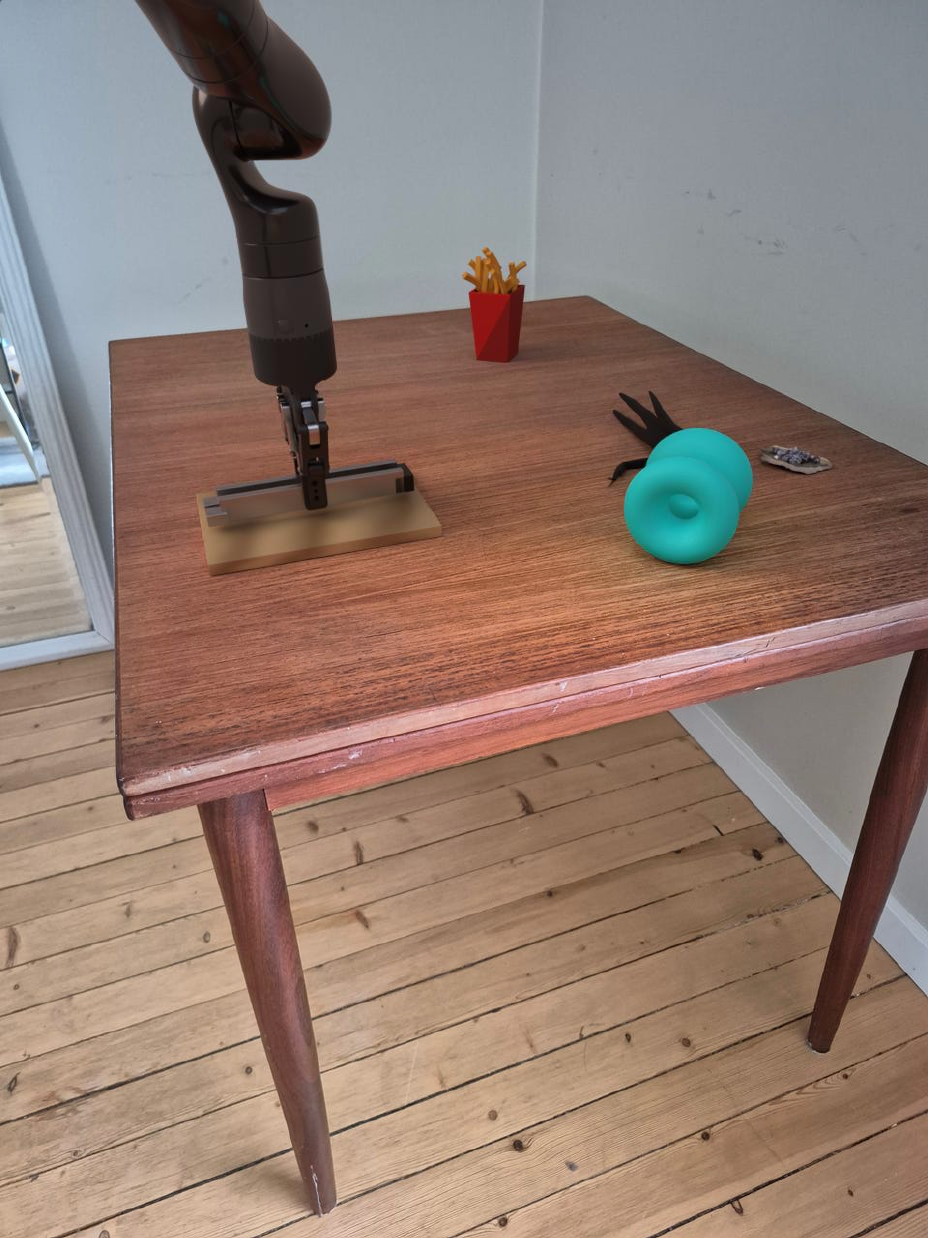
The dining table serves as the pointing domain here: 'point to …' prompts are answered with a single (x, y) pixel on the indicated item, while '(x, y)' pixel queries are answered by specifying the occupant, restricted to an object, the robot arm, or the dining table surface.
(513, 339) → the french fries
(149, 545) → the dining table surface
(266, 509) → the steel tongs
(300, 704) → the dining table surface
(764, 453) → the crystal mineral rock
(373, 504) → the cutting board
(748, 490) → the teal yo-yo
